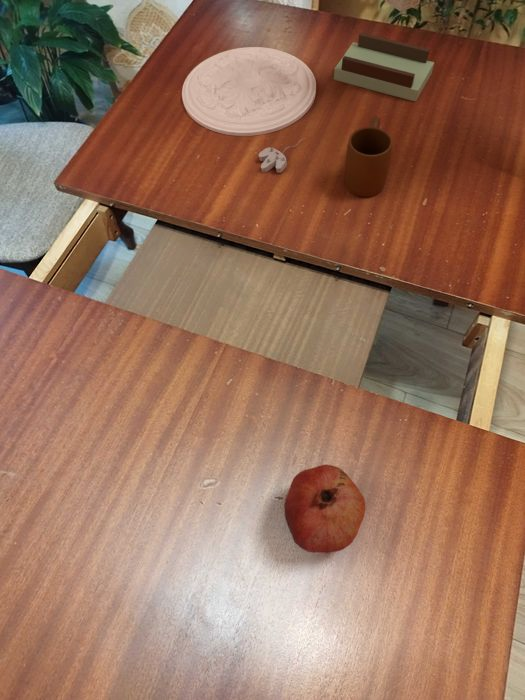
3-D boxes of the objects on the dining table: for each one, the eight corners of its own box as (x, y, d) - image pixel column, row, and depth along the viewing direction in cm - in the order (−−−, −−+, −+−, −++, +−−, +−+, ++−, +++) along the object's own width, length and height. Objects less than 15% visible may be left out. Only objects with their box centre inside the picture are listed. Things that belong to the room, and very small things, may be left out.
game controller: (252, 169, 102) (251, 158, 100) (279, 132, 107) (279, 120, 105) (279, 178, 101) (279, 167, 98) (305, 140, 105) (306, 128, 103)
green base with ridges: (431, 73, 114) (437, 50, 109) (415, 101, 109) (420, 78, 105) (351, 53, 118) (354, 30, 114) (333, 79, 114) (335, 56, 110)
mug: (350, 150, 103) (355, 106, 95) (390, 155, 102) (399, 112, 94) (339, 195, 98) (344, 153, 90) (382, 201, 97) (390, 159, 88)
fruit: (311, 462, 74) (313, 436, 65) (375, 504, 71) (387, 482, 62) (266, 528, 70) (262, 510, 61) (332, 576, 67) (338, 564, 58)
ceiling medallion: (327, 57, 118) (328, 43, 115) (299, 144, 105) (300, 130, 102) (205, 44, 122) (203, 30, 120) (164, 126, 109) (160, 112, 107)
